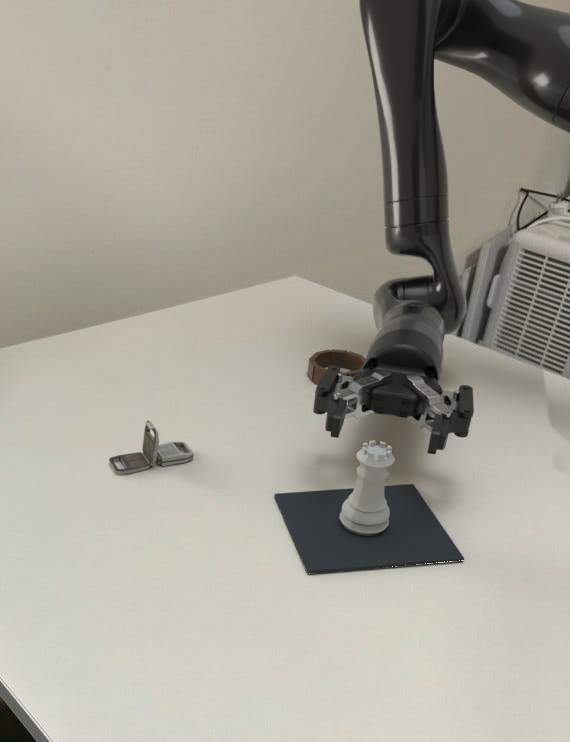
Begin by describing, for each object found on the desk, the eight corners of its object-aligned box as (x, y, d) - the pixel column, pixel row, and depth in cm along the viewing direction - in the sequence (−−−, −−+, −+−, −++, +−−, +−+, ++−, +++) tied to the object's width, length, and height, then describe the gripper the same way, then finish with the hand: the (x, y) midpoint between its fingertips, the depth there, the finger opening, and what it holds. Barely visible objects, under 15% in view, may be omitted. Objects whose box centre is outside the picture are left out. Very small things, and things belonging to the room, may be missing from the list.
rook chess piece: (368, 544, 73) (383, 467, 68) (328, 522, 76) (340, 446, 71) (398, 524, 76) (414, 448, 71) (358, 503, 78) (371, 429, 73)
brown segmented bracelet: (355, 362, 104) (357, 347, 103) (374, 388, 99) (376, 372, 97) (301, 365, 104) (303, 350, 102) (317, 391, 98) (319, 375, 97)
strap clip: (184, 447, 87) (185, 411, 85) (195, 461, 85) (196, 424, 82) (107, 461, 85) (106, 425, 82) (116, 476, 83) (115, 439, 80)
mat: (412, 487, 81) (413, 483, 81) (463, 562, 72) (464, 558, 72) (274, 496, 80) (274, 493, 80) (307, 574, 70) (308, 571, 70)
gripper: (339, 318, 84) (308, 385, 72) (484, 337, 81) (478, 411, 68) (330, 385, 89) (299, 459, 77) (467, 406, 85) (458, 487, 73)
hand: (383, 436), depth 73 cm, fingers open, 8 cm apart
